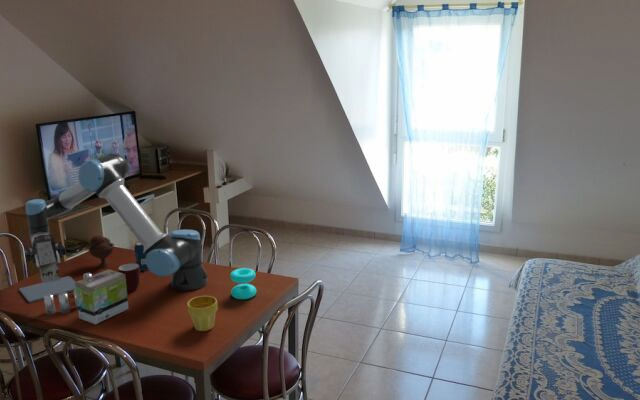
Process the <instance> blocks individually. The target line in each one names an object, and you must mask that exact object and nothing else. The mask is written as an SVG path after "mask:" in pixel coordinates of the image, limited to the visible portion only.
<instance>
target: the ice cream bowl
mask: <svg viewBox="0 0 640 400" xmlns="http://www.w3.org/2000/svg"><path fill="white" fill-rule="evenodd" d="M89 243H90V246H88V252H89V254H90V255H92V256H93V257H94V258H97V259H100V263H99V264H97V268H98V269H106V267H107V268H109V267H110V266H111V264H110V263H109V262H106V258H107V257H109V256H110V255H112V253H113V252H114V247H115V246H114V245H115V244H114V243H112V242H111V239H110V238H108V237H106V236H102V235H101V234H96V235H93V237H91V239H90V241H89ZM108 266H109V267H108Z"/></svg>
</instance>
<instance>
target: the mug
mask: <svg viewBox="0 0 640 400" xmlns="http://www.w3.org/2000/svg"><path fill="white" fill-rule="evenodd" d="M118 272H119V273H123V274H125V276H126V287H127V293H128V292H135V291H137V290H138V287H139V284H140V278H141V277H140V276H141V270H140V268H139V265H138V264H136V262H134V263H133V262H132V263H131V262H130V263H125V264H122V265H120V266H119V267H118Z"/></svg>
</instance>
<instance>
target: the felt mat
mask: <svg viewBox="0 0 640 400" xmlns="http://www.w3.org/2000/svg"><path fill="white" fill-rule="evenodd" d="M75 282H76V281H75V279H73V277H71V276H70V275H67V276H63V277H60V280H58V281H52V282H47V283H43V282H39V283H35V284H33V285H32V284H31V285H27V286H24V287H20V288H19V289H18V291H19V292H20V294H21V295H22V296H23V297H24V299H26V301H27V303H29V304H32V303H36V302H40V301H44V295H46V294H53V298H54V297H59V296H58V295H59V294H60V293H64V292H65V293H72V292H74V290H75V289H76V285H75Z"/></svg>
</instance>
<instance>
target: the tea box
mask: <svg viewBox="0 0 640 400" xmlns="http://www.w3.org/2000/svg"><path fill="white" fill-rule="evenodd" d="M75 285H76V294H77V303H78V309H77V311H78V318H79V319H80V320H83V321H85V322H88V323H91V324H93V325H98V324H99V323H101V322H103V321H105V320H108V319H110V318H112V317H114V316H116V315H118V314H121V313H123V312H125V310H126V311H128V310H129V300H128V298H129V297H128V291H127V287H126V276H125V274H123V273H119V271H116V270H112V269H106V270H103V271H101V272H97V273H95V274H92V276H90V277H88V278H85V279H84V278H83V279H80V280H77V281H75ZM127 309H128V310H127Z"/></svg>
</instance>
